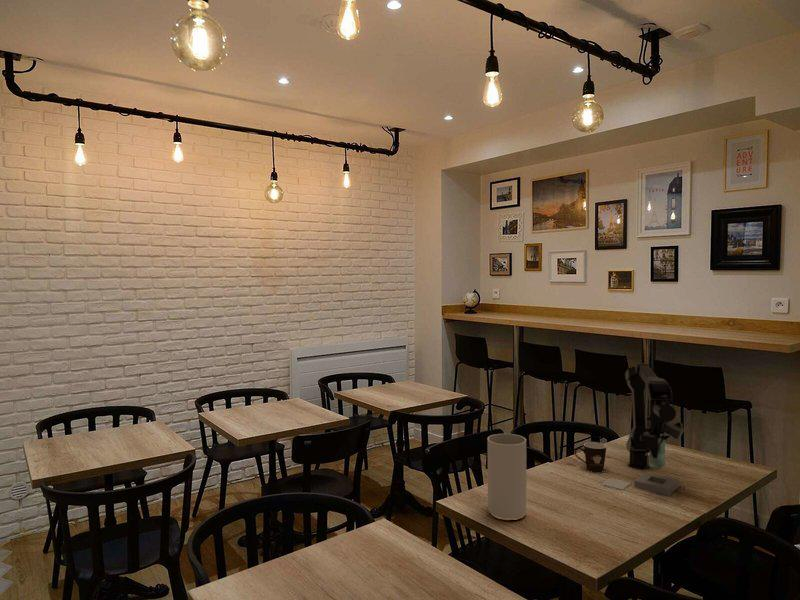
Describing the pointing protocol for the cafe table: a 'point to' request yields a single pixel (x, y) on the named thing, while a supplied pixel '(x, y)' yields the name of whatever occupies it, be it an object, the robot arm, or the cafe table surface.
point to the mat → (616, 484)
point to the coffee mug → (594, 456)
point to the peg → (659, 456)
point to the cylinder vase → (507, 475)
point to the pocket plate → (657, 483)
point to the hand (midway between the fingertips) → (657, 456)
